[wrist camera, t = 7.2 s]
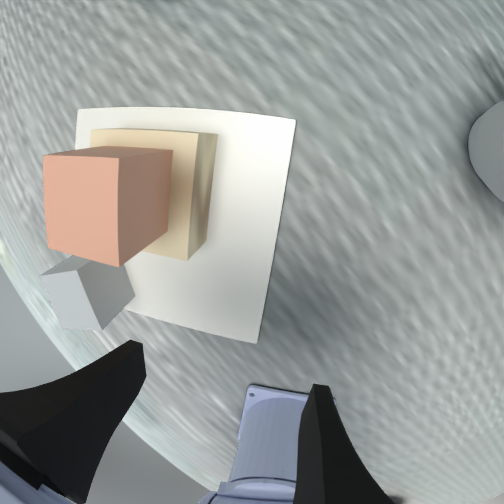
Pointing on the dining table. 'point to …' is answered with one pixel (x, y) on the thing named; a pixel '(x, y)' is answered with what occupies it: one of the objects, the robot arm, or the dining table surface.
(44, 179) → the terracotta block
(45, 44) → the dining table surface
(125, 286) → the grey block
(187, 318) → the board
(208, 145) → the maple block
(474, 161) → the cup
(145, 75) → the dining table surface
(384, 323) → the dining table surface
